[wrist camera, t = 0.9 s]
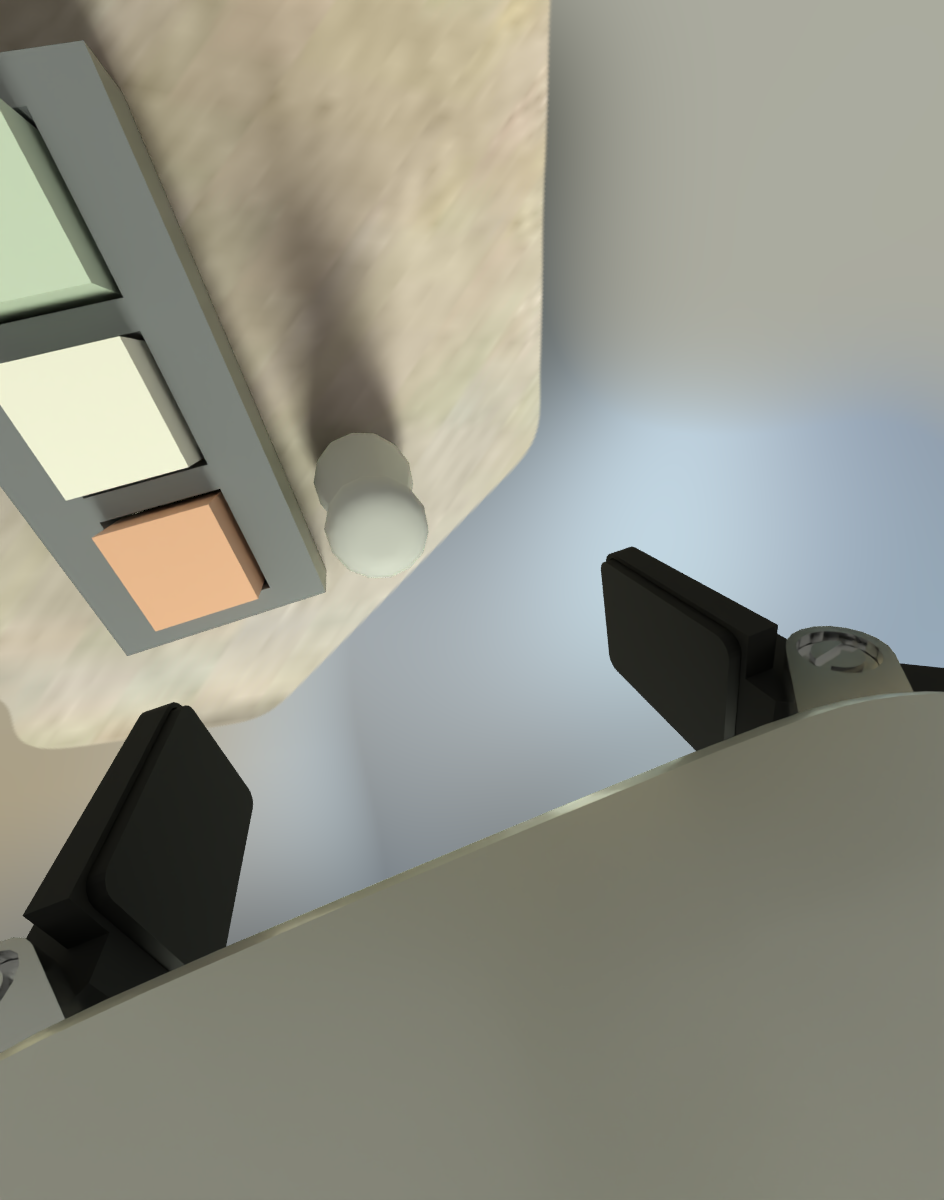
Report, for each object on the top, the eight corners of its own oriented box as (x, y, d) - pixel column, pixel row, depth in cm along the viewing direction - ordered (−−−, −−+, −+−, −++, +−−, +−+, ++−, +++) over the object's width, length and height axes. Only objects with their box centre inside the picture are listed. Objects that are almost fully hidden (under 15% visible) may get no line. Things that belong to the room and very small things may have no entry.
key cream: (27, 370, 21) (-25, 369, 18) (149, 341, 22) (119, 335, 19) (100, 484, 24) (66, 500, 21) (206, 455, 25) (188, 467, 22)
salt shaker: (352, 407, 28) (367, 428, 16) (424, 468, 30) (478, 522, 19) (296, 482, 29) (274, 551, 17) (371, 535, 31) (392, 624, 20)
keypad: (-186, 142, 18) (-293, 94, 15) (122, 92, 20) (83, 40, 17) (148, 627, 30) (127, 656, 27) (326, 571, 32) (325, 592, 28)
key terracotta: (121, 518, 25) (91, 537, 22) (223, 489, 26) (208, 504, 23) (175, 603, 28) (155, 631, 25) (266, 574, 29) (258, 598, 25)
